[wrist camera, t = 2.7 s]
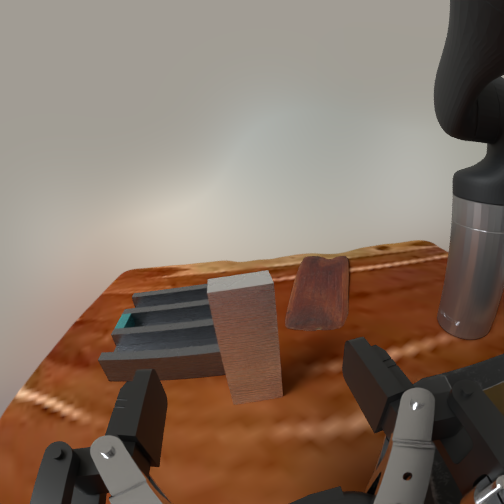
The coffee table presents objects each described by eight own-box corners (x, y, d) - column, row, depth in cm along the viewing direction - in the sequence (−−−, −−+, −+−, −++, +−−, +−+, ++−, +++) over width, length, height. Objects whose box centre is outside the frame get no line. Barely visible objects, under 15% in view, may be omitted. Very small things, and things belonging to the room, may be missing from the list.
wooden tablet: (303, 260, 60) (302, 253, 60) (348, 260, 57) (348, 253, 56) (274, 332, 37) (274, 322, 36) (348, 335, 33) (349, 325, 33)
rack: (228, 299, 46) (225, 281, 45) (235, 373, 29) (230, 350, 28) (139, 311, 45) (134, 293, 43) (109, 381, 28) (98, 360, 26)
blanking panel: (278, 380, 27) (267, 270, 23) (283, 396, 25) (273, 282, 20) (232, 387, 27) (207, 279, 22) (233, 404, 24) (206, 292, 20)
